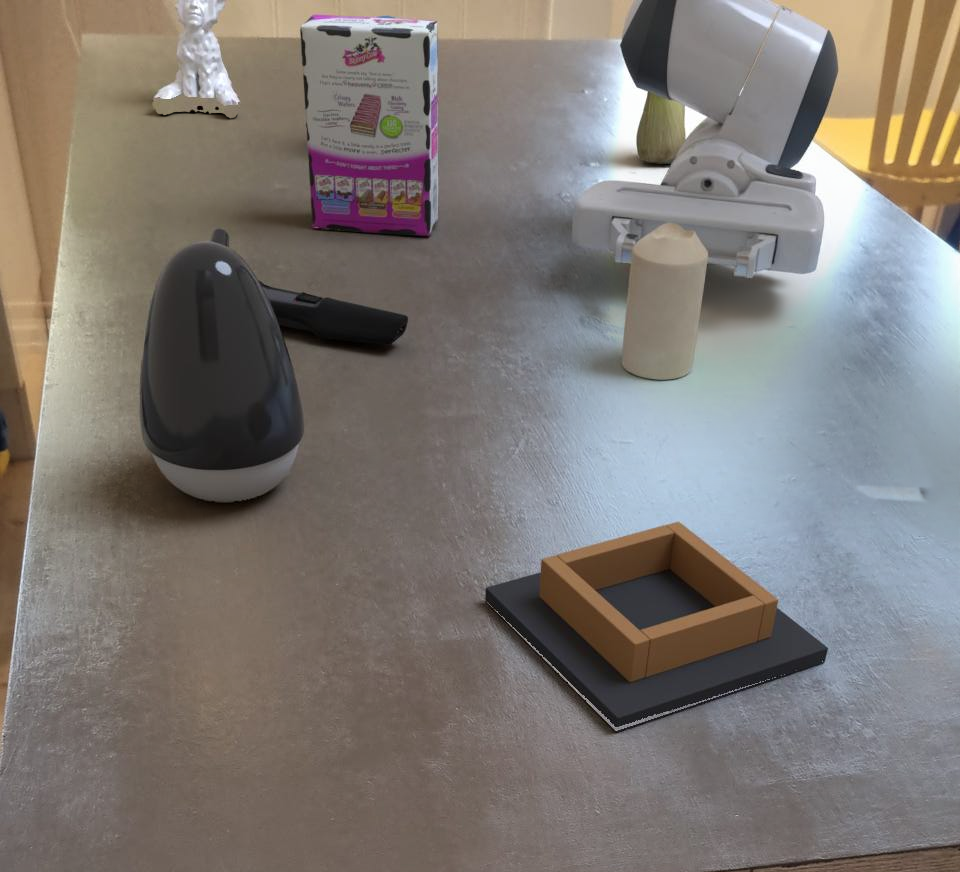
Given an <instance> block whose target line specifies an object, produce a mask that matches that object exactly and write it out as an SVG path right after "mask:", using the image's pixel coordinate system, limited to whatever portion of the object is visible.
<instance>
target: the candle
mask: <svg viewBox="0 0 960 872" xmlns="http://www.w3.org/2000/svg"><path fill="white" fill-rule="evenodd" d="M707 259H708V251H707V250H706V248H705V247H704V246H703V244H702V243H701V241H700V240H699V238H698V237H697V235H696V233H695V231H684V230H683V229H682V228H681V227H680V226H679V225H677V224H676V223H666V224H663V225H661V226H659V227H658V228H657V229H655V230H654V231H652V232H651V233H649V234H648V235H646V236H644V237H643V238H641V239H640V240H639V241H638V242H637V243H636V244H635V245H634V246H633V247H632V256H631V263H630V266H629V277H628V286H627V287H628V288H627V297H626V308H625V318H624V320H625V321H624V326H623V327H624V328H623V338H622V347H621V348H622V349H621V365H622V367H623V368H624V370H626V371H627V372H628V373H630V374H632V375H634V376H636V377H640V378H644V379H649V380H660V381H661V380H662V381H664V380H665V381H666V380H674V379H679V378H682V377H684V376H685V377H686V376H687V375H688V374H689V373H690V372H691V371H692V369H693V365H694V361H695V356H696V355H695V354H696V348H697V339H698V334H699V333H698V332H699V325H700V318H701V311H702V303H703V296H704V289H705V282H706V275H707V274H706V273H707Z"/></svg>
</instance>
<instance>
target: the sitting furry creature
mask: <svg viewBox="0 0 960 872" xmlns="http://www.w3.org/2000/svg"><path fill="white" fill-rule="evenodd" d="M226 1H227V0H177V1H176V3H175V4H174V9H175V11H177V16H178V17H177V20H178V22H180V24H182V26H183V27H184V28H183V29H182V31H181V33H180V34H178V42H177V45H176V46H177V47H176V60H177V62H178V65H177V66H178V70H177V72H176V73H175V80H174V81H173V82H171V83H169V84H166V85H165V86H163V87H162V88H159V89H158V91H157V93H155V95H154V96H153V97H154V98H157V97H160V99H171V98H174V97H176V96H178V95H180V94H182V93H184V95H185V96H187V97H197V96H198V91H199V96H200V97H201V98H214V97H215V95H216V98H217V101H219V102H220V103H221V104H223V105H224V106H226V105H238V102H240V103H241V100H240V99H239V98H238V93H236V92H235V91H234V88H233V86H232V81H231V79H230V78H229V73H228V71H227V67H225V64H224V62H223V60H222V59H223V57H222V53H221V48H220V47H221V46H220V43H218V38H217V37H216V36H215V33H214V32H213V31H212V30H211V29H212V28H213V26H214V25H215V24H216V25H217V23H218V20H219V13H221V12H222V11H223V10H224V8H225V5H226ZM214 94H215V95H214Z"/></svg>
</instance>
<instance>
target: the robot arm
mask: <svg viewBox="0 0 960 872" xmlns="http://www.w3.org/2000/svg"><path fill="white" fill-rule="evenodd" d="M619 47H620V52H621V55H622V58H623V61H624V63H625V67H626V69H627V71H628V73H629V75H630V78H631V79H632V81H633V84H634V85H635V87H636V88H637V89H640V90H642V91H645V92H647V93H648V92H650V93H653V94H655V95H658V96H660V97H663V98H666V99H668V100H675V101H677V102H679V103H681V104H683V105H685V107H687V108H689V109H691V110H693V111H695V112H697V113H699V114H701V115H702V116H704V117H706V118H705V119H703V120H701V122H700V123H698V124H697V126H695V128H693V130H692V131H691V132H690V133H689V135H688V136H687V137H686V139H685V141H684V143H683V144H682V146H681V147H680V149H679V151H678V153H677V155H676V157H675V160H674V161H673V162H672V163H670V166H669V167H668V169H667V171H666V173H665V175H664V177H663V178H662V180H661V182H660V184H654V183H645V182H644V183H643V182H636V181H626V180H603V181H599V182H597V183H595V184H593V185H591V186H590V187H589V188H587V189H586V190H585V191H584V192H583V193H582V194H580V196H578V198H577V199H576V201H575V203H574V206H573V214H572V231H571V238H572V242H573V243H574V244H575V245H576V246H577V247H579V248H581V249H584V250H594V251H602V252H610V253H613V254H614V262H615V263H621V264H623V263H624V264H631V256H632V247H633V246H634V245H635V244H636V243H637V242H638V241H639V240H640V239H641V238H643V237H644V236H646V235H648V234H649V233H651V232H652V231H654V230H655V229H657V228H658V227H659V226H661V225H663V224H666V223H676V224H677V225H679V226H680V227H681V228H682V229H683V230H684V231H695V233H696V235H697V237H698V238H699V240H700V241H701V243H702V244H703V246H704V247H705V248H706V250H707V251H708V259H707V264H711V265H712V264H713V265H720V266H721V265H722V266H729V267H734V270H733V276H734V277H739V278H747V279H749V278H750V279H753V278H754V274H755V273H758V272H761V271H772V272H781V273H788V274H789V273H790V274H797V275H807V274H812V273H814V272H816V270H817V267H818V262H819V257H820V252H821V246H822V240H823V236H824V230H825V229H824V228H825V211H824V206H823V203H822V200H821V199H820V198H819V196H818V195H816V189H817V187H816V186H817V178H816V177H815V176H814V175H813V174H811V173H807V172H803V171H800V170H796V169H793V168H794V167H795V166H796V165H798V164H799V163H800V162H801V160H802V158H803V157H804V155H805V154H806V153H807V151H808V149H809V147H810V146H811V144H812V143H813V142H812V141H813V140H814V138H815V136H816V134H817V132H818V131H819V128H820V126H821V123H822V122H823V119H824V116H825V114H826V111H827V110H828V106H829V103H830V100H831V97H832V94H833V90H834V87H835V84H836V80H837V77H838V73H839V61H838V54H837V48H836V47H837V46H836V43H835V39H834V37H833V34H832V32H831V31H830V29H827V28H825V27H824V26H822V25H820V24H818V23H817V22H814V21H813V20H810V19H809V18H807V17H805V16H803V15H802V14H799V13H798V12H796V11H793V10H792V9H789V8H788V7H785V6H784V5H779V4H777V3H776V2H773V1H772V0H633V1H632V2H631V4H630V7H629V9H628V11H627V14H626V18H625V20H624V23H623V28H622V34H621V41H620V44H619Z"/></svg>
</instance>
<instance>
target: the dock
mask: <svg viewBox="0 0 960 872" xmlns="http://www.w3.org/2000/svg"><path fill="white" fill-rule="evenodd" d="M484 596H485V599H484V602H485V603H486V604H487V606H489V607H490V609H491V610H493V611H494V612H495V613H496V614H497V615H498V616H499V617H500V619H502V620H503V621H504V622H505V624H507V625H508V626H509V627H510V629H512V630H513V631H514V632H515V633H516V634H517V636H519V637H520V638H521V639H522V640H523V641H524V642H525V643H526V644H527V645H528V647H530V648H531V650H533V651H534V652H535V653H536V654H537V655H538V656H539V658H540V659H542V660H543V661H544V662H545V663H546V664H547V666H549V667H550V668H551V669H552V671H554V672H555V673H556V674H557V676H558V677H559V678H561V680H563V681H564V682H565V683H566V685H568V687H570V689H572V690H573V691H574V692H575V693H576V694H577V696H579V698H581V699H582V700H583V702H585V704H586V705H587V706H588V707H589V708H590V709H592V710H593V712H594V713H596V714H597V716H599V717H600V719H601V720H603V722H605V723H606V725H608V727H610V728H611V729H612V730H613V731H614V732H615V733H620V732H623V731H625V730H628V729H631V728H635V727H636V726H640V725H643V724H646V723H648V722H649V723H650V722H652V721H655V720H657V719H661V718H664V717H667V716H670V715H673V714H676V713H678V712H682V711H684V710H688V709H691V708H693V707H697V706H700V705H702V704H705V703H709V702H712V701H714V700H717V699H720V698H723V697H726V696H729V695H732V694H736V693H738V692H741V691H744V690H747V689H750V688H753V687H756V686H758V685H761V684H764V683H768V682H770V681H773V680H774V681H775V680H777V679H779V678H783V677H786V676H789V675H792V674H795V673H798V672H800V671H803V670H806V669H809V668H812V667H815V666H819V665H821V664H824V663H826V660H827V656H828V651H829V647H828V646H827V645H826V644H824V643H823V642H821V640H819V639H818V638H816V637H815V636H814V635H812V634H811V632H809V631H807V630H806V629H805V628H804V627H802V626H801V625H800V624H799V623H798V622H796V621H795V620H794V619H793V618H791V617H790V616H789V615H787V614H786V613H784V612H783V610H781V609H779V607H778V604H779V598H777V597H776V596H775V595H773V594H772V593H771V592H770V591H769V590H767V589H765V587H764V586H762V585H761V584H759V583H758V582H757V581H755V580H754V579H753V578H752V577H750V576H749V575H748V574H747V573H746V572H744V571H743V570H742V569H740V568H739V567H738V566H737V565H735V564H734V563H732V561H730V560H729V559H727V558H726V557H725V556H724V555H722V554H721V553H720V552H719V551H717V550H716V549H715V548H714V547H712V546H711V545H710V544H709V543H707V542H706V541H704V540H703V539H702V538H701V537H699V536H698V535H697V534H696V533H694V532H693V531H692V530H690V529H689V528H688V527H687V526H686V525H684V524H683V523H682V522H680V521H675V522H671V523H667V524H665V525H664V524H663V525H659V526H657V527H653V528H649V529H646V530H642V531H638V532H634V533H631V534H627V535H624V536H620V537H616V538H612V539H608V540H605V541H601V542H598V543H594V544H590V545H587V546H584V547H579V548H576V549H572V550H568V551H565V552H561V553H558V554H556V555H555V554H554V555H552V556H548V557H547V556H546V557H544V558H541V560H540V571H539V572H537V573H533V574H529V575H526V576H522V577H519V578H515V579H511V580H507V581H505V582H501V583H497V584H493V585H490V586H487V587H485V595H484ZM485 600H486V601H485ZM487 602H488V603H489V604H490V605H491V606H492V607H493V608H492V607H491V606H490V605H489V604H488V603H487ZM494 609H495V610H496V611H498V613H499V614H500V615H501V616H503V617H504V618H505V620H506V621H507V622H509V623H510V624H511V625H512V627H514V628H515V629H516V630H517V631H518V632H519V633H520V634H521V635H522V636H523V637H524V638H526V639H527V641H528V642H530V643H531V645H532V646H534V647H535V648H536V650H538V651H539V653H540V654H542V655H543V657H545V658H546V659H547V660H548V661H549V662H550V663H551V664H552V666H554V667H555V668H556V669H557V670H558V671H559V672H560V673H561V674H562V675H563V676H564V677H565V678H566V679H567V680H568V681H569V682H570V683H571V684H572V685H573V686H574V687H575V688H576V689H577V690H578V691H579V692H580V693H581V694H582V695H584V696H585V698H587V699H588V700H589V701H590V702H591V703H592V704H593V705H594V706H595V707H596V708H597V709H598V710H599V711H601V713H602V714H604V716H605V717H607V719H609V720H610V722H611V723H612V724H614V726H615V727H619V726H622V725H625V724H629V723H632V722H635V721H636V720H637V721H638V720H641V719H642V718H643V719H644V718H647V717H648V716H653V715H654V714H656V715H657V714H660V713H663V712H666V711H671V710H672V709H673V710H674V709H677V708H680V707H683V706H685V705H686V706H687V705H688V704H693V703H696V702H699V701H702V700H705V699H706V700H707V699H708V698H712V697H713V696H718V695H719V694H720V695H721V694H724V693H727V692H729V691H732V690H733V691H734V690H735V689H739V688H740V687H741V688H742V687H745V686H748V685H752V684H755V683H758V684H755V685H752V686H749V687H746V688H743V689H740V690H737V691H734V692H731V693H728V694H725V695H722V696H719V697H716V698H713V699H710V700H707V701H704V702H701V703H698V704H696V705H693V706H690V707H687V708H684V709H681V710H678V711H675V712H672V713H669V714H666V715H663V716H660V717H657V718H654V719H651V720H648V721H645V722H642V723H639V724H636V725H633V726H630V727H627V728H624V729H621V730H618V731H615V730H614V729H613V728H612V727H611V726H610V725H609V724H608V723H607V722H606V721H605V720H604V719H603V718H602V717H601V716H600V715H599V714H598V713H597V712H596V711H595V710H594V709H593V708H592V707H591V706H590V705H589V704H588V703H587V702H586V701H585V700H584V699H583V698H582V697H581V696H580V695H579V694H578V693H577V692H576V691H575V690H574V689H573V688H572V687H571V686H570V685H569V684H568V683H567V682H566V681H565V680H564V679H563V678H562V677H561V676H560V675H559V674H558V673H557V672H556V671H555V670H554V669H553V668H552V667H551V666H550V665H549V664H548V663H547V662H546V661H545V660H544V659H543V658H542V657H541V656H540V655H539V654H538V653H537V652H536V651H535V650H534V649H533V648H532V647H531V646H530V645H529V644H528V643H527V642H526V641H525V640H524V639H523V638H522V637H521V636H520V635H519V634H518V633H517V632H516V631H515V630H514V629H513V628H512V627H511V626H510V625H509V624H508V623H507V622H506V621H505V620H504V619H503V618H502V617H501V616H500V615H499V614H498V613H497V612H496V611H495V610H494ZM822 661H823V662H822ZM796 670H797V671H796ZM784 674H785V675H784ZM781 675H782V676H781ZM774 677H776V678H774ZM772 678H773V679H772ZM767 679H770V680H767ZM765 680H766V681H765ZM760 681H761V683H759V682H760ZM762 681H764V682H762Z"/></svg>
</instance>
